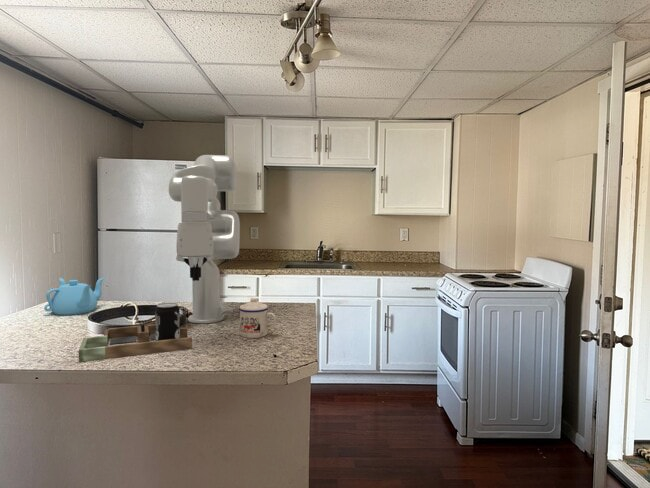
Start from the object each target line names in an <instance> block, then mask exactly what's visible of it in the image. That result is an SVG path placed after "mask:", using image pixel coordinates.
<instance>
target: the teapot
mask: <svg viewBox="0 0 650 488" xmlns="http://www.w3.org/2000/svg"><path fill="white" fill-rule="evenodd" d="M105 278H106V277H101V278H99V279H97V281H96V283H95V287H94V290H92V288H91V286H92V284H90V285H89V284H87V283H79V280H78V279H71V280H68V283H67V284H66V281H65V279H64V278H63V277H59V278H58V280H59V287H56V288H55V287H54V288H51V289H48V290H47V292H46V294H45V298H46V301H47V304H45V306H44V308H43V309H44V311H45V312H52V313H53V314H55V315H57V316H75V315H77V316H78V315H82V314H86V313H87V314H88V313H90V312H93V311H94V310H95V309H96V308H97V306H98V301H99V299H100V298H101V295H102V282H103V281H104V280H105ZM53 292H54V293H53ZM51 293H53V295H52V297H51ZM48 307H49V308H48Z"/></svg>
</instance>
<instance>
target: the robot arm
mask: <svg viewBox="0 0 650 488" xmlns="http://www.w3.org/2000/svg"><path fill="white" fill-rule="evenodd" d="M237 174H238V173H237V166H236V163H235V160H234V159H233V158H232V157H231V156H230V155H225V154H223V155H222V154H203V155H199V156H198V157H197V158H196V159H195V161H194V164H193V165H191V166H189V167H185V168H182V169H179V170H177V171H175V172H174V173H173V174H172V176H171V178H170V180H169V184H168V195H169V197H170V198H171V199H172V200H173V201H174V202H178V203H179V202H181V203H180V204H181V205H180V208H181V209H180V211H181V213H180V214H181V218H180V219H181V222H178V225H177V233H176V258H175V259H176V261H177V262H182V263H185V264H187V266H189V278H190V279H191V281H192V283H191V284H192V286H191V288H192V314H190V315H189V316H188V319H187V321H189V322H190V323H193V324H211V323H217V322H221V321H223V320H224V319H225V314H233V313H234V307H222V305H221V303H220V302H221V291H220V290H221V287H220V286H221V285H220V283H221V281H220V279H221V278H220V276H221V275H220V273H221V272H220V268H219V267H218V266H217V264H216V263H215V262H214V261H213V260H218V259H219V260H228V259H235V258H237V256H238V255H239V254H240V253H239V252H240V240H241V239H240V238H241V237H240V235H241V234H240V233H241V232H240V230H241V229H240V228H241V225H240V224H241V223H240V217H239V214H238V213H237V212H236V211H234V210H229V209H228V210H227V209H225V210H223V209H221V203H220V201H219V199H218V198H217V195H218V192H233V191H235V190H236V189H237V187H238V176H237Z"/></svg>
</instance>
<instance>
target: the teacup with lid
mask: <svg viewBox="0 0 650 488" xmlns="http://www.w3.org/2000/svg"><path fill="white" fill-rule="evenodd" d="M238 309H239V334H240V336H241V337H243V338H247V339H257V338H262V337H265V336H266V335H268V329H272V328H273V327H274V326H275V325H276V323H277V316H276V315H275V313H273V312H268V310H269V306H268V305H267V304H266V303H262V302H261V301H258V299H257V298H256V297H251V298H250V301H247V302H246V303H244V304H241V305H240V306H239V308H238ZM268 316H271V317H272V319H273V322H272V324H271V325H268Z"/></svg>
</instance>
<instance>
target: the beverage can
mask: <svg viewBox="0 0 650 488" xmlns="http://www.w3.org/2000/svg"><path fill="white" fill-rule="evenodd" d="M178 305H179V303H178V302H172V301H171V302H168V301H167V302H159V303H158V304H157V305H156V309H155V311H154V312H155V324H156V340H155V341H160V340H169V339H178V338H180V328H181V326H180V325H181V322H180V310H181V309H180V308H179V306H178Z"/></svg>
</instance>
